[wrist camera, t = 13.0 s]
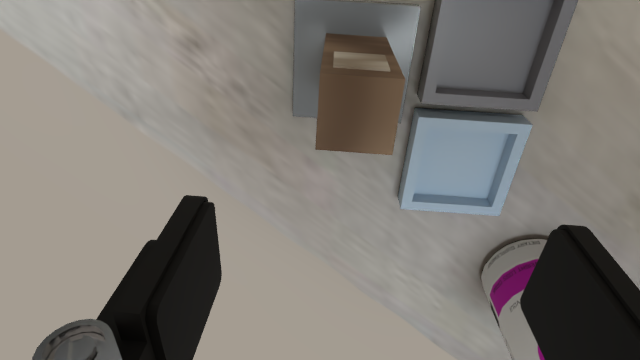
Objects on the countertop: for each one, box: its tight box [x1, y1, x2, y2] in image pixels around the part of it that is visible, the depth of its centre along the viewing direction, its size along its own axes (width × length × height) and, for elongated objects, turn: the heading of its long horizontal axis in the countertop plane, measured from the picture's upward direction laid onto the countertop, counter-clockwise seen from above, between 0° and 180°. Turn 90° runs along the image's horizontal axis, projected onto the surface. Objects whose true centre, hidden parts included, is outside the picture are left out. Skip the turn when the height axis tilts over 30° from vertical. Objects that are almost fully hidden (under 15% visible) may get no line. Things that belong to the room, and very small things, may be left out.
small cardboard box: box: [316, 33, 405, 155], centre depth 23 cm, size 4×4×9 cm
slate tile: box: [293, 0, 421, 123], centre depth 27 cm, size 8×8×1 cm
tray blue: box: [398, 108, 532, 216], centre depth 31 cm, size 8×8×2 cm
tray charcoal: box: [417, 0, 578, 111], centre depth 26 cm, size 8×8×2 cm
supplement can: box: [481, 239, 547, 360], centre depth 31 cm, size 8×8×15 cm
